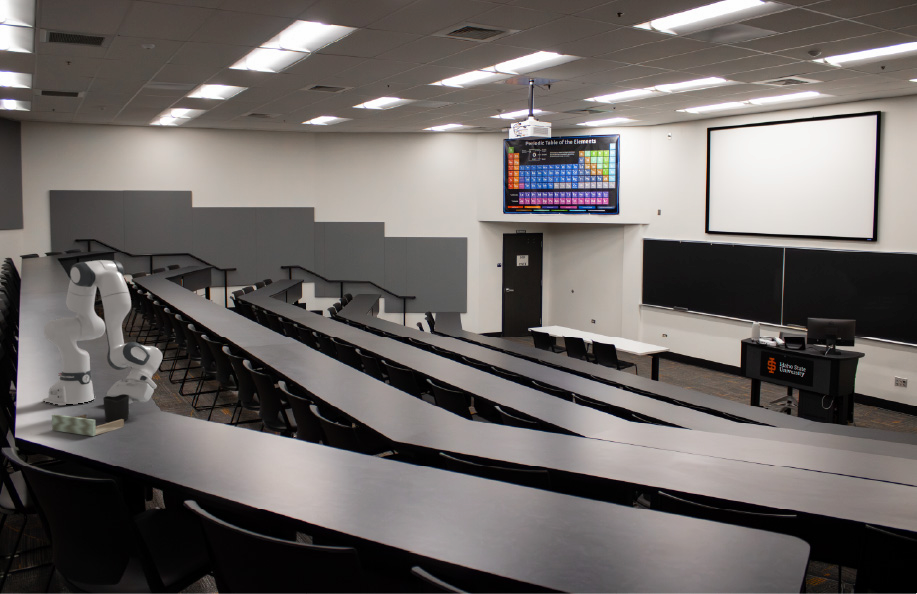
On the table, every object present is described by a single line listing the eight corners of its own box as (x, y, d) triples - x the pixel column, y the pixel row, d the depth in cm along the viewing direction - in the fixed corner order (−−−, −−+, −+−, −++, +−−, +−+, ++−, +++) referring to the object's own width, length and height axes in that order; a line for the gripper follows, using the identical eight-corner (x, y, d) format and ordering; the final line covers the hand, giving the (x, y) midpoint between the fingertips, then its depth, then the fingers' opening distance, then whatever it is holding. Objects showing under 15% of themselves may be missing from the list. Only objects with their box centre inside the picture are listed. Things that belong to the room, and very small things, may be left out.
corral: (52, 430, 270) (51, 415, 270) (84, 421, 284) (83, 407, 284) (93, 435, 263) (92, 420, 263) (123, 426, 277) (123, 412, 276)
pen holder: (120, 424, 281) (119, 400, 280) (99, 423, 282) (98, 399, 281) (134, 417, 290) (133, 394, 289) (114, 416, 292) (112, 393, 291)
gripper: (114, 374, 297) (96, 402, 289) (151, 378, 290) (134, 406, 282) (123, 383, 302) (105, 410, 293) (160, 386, 295) (143, 414, 286)
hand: (120, 408), depth 287 cm, fingers closed, pressing on pen holder
